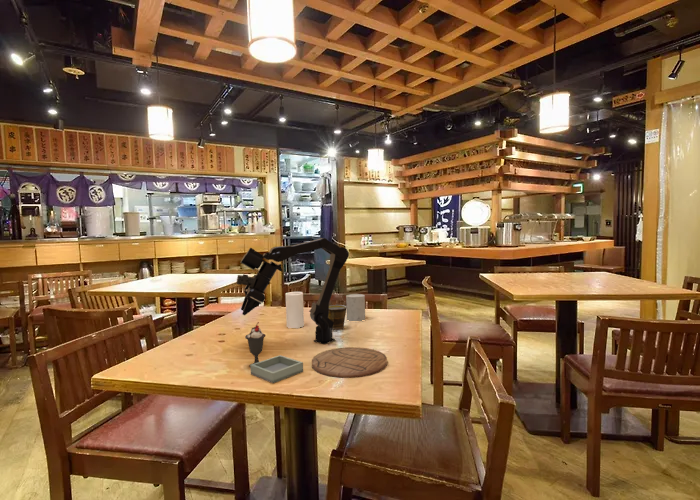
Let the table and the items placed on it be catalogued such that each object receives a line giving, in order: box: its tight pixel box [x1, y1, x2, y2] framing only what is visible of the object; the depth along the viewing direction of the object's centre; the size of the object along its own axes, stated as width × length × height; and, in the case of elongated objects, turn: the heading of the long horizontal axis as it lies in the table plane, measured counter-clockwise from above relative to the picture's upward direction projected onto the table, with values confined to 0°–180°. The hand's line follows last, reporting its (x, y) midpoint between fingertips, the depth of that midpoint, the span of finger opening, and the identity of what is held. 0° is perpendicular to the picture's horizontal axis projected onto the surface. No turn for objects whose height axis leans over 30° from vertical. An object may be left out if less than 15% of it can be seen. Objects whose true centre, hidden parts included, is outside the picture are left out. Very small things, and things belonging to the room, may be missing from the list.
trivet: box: [311, 346, 388, 379], centre depth 121 cm, size 25×25×2 cm
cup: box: [285, 291, 305, 329], centre depth 172 cm, size 8×8×16 cm
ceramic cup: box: [328, 304, 347, 331], centre depth 165 cm, size 13×10×10 cm
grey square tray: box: [249, 354, 304, 384], centre depth 114 cm, size 12×12×3 cm
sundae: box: [245, 321, 266, 368], centre depth 121 cm, size 7×7×15 cm
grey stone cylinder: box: [345, 293, 366, 322], centre depth 182 cm, size 10×10×12 cm
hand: (242, 312), depth 135 cm, fingers open, 9 cm apart
